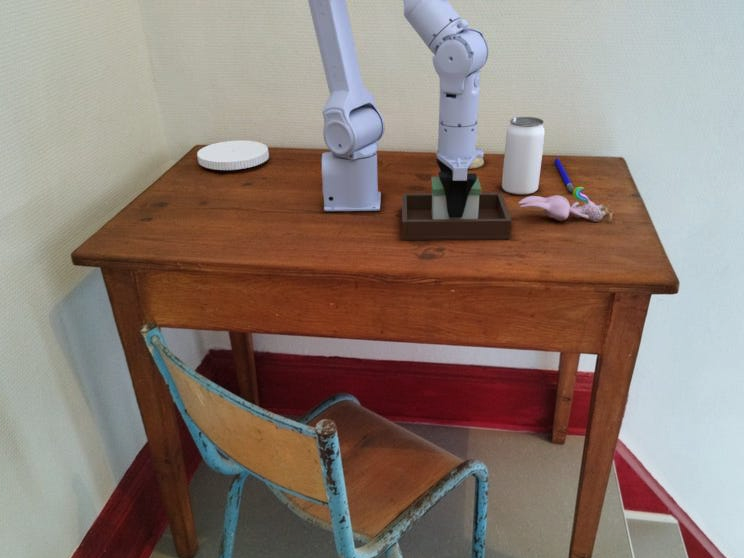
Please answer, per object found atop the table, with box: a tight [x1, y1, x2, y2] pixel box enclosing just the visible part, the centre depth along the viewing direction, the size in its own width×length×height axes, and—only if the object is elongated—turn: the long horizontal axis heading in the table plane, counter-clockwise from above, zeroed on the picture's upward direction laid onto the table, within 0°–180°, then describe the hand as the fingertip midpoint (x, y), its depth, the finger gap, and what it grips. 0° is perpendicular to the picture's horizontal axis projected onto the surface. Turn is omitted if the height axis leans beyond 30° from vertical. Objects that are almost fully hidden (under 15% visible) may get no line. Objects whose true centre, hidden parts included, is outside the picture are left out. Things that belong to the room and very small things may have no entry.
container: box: [430, 176, 482, 219], centre depth 104 cm, size 7×5×6 cm
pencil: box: [554, 158, 575, 193], centre depth 123 cm, size 17×1×1 cm, turn 177°
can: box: [501, 116, 546, 196], centre depth 115 cm, size 6×6×12 cm
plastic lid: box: [196, 139, 270, 171], centre depth 133 cm, size 14×14×2 cm
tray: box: [401, 192, 512, 241], centre depth 106 cm, size 17×12×3 cm
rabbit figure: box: [518, 186, 614, 223], centre depth 106 cm, size 6×6×15 cm
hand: (454, 209), depth 105 cm, fingers closed on container, 5 cm apart
